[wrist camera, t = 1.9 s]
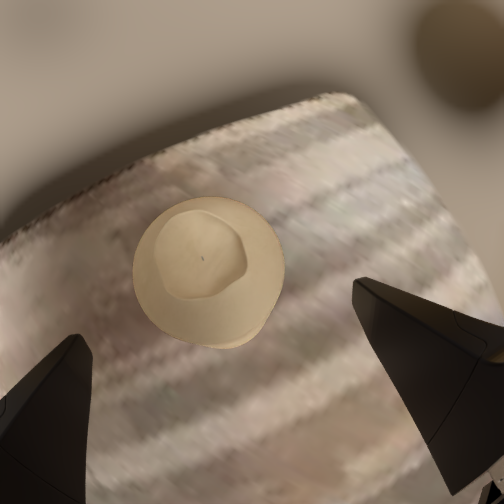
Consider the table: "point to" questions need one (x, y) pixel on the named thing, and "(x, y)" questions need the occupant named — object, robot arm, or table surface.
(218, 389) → the table surface
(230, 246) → the candle
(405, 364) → the robot arm
